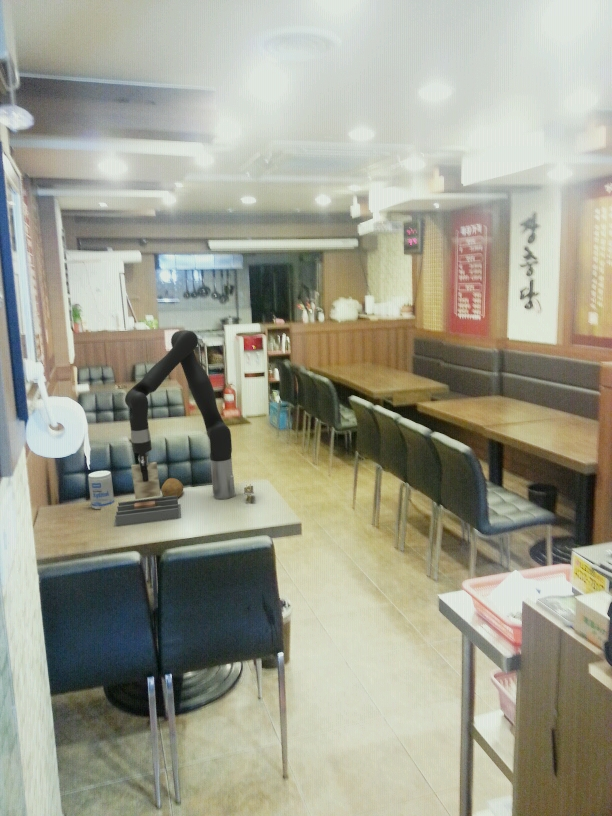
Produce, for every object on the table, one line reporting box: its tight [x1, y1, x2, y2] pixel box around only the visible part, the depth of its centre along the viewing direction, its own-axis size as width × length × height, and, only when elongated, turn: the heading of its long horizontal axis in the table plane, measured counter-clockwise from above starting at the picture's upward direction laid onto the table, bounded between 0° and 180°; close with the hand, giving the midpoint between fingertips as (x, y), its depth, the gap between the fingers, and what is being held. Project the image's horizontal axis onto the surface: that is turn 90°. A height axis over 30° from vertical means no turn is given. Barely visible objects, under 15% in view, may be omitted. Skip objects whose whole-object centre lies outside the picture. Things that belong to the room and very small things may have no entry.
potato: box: [160, 477, 184, 498], centre depth 276 cm, size 10×14×8 cm
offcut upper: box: [134, 501, 156, 509], centre depth 253 cm, size 8×4×2 cm, turn 102°
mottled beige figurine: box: [243, 483, 255, 503], centre depth 269 cm, size 12×18×7 cm, turn 6°
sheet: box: [130, 461, 161, 500], centre depth 257 cm, size 10×2×14 cm, turn 103°
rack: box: [113, 496, 182, 528], centre depth 254 cm, size 26×16×6 cm, turn 102°
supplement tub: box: [87, 470, 115, 510], centre depth 270 cm, size 10×10×15 cm
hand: (145, 480), depth 257 cm, fingers closed on sheet, 2 cm apart
